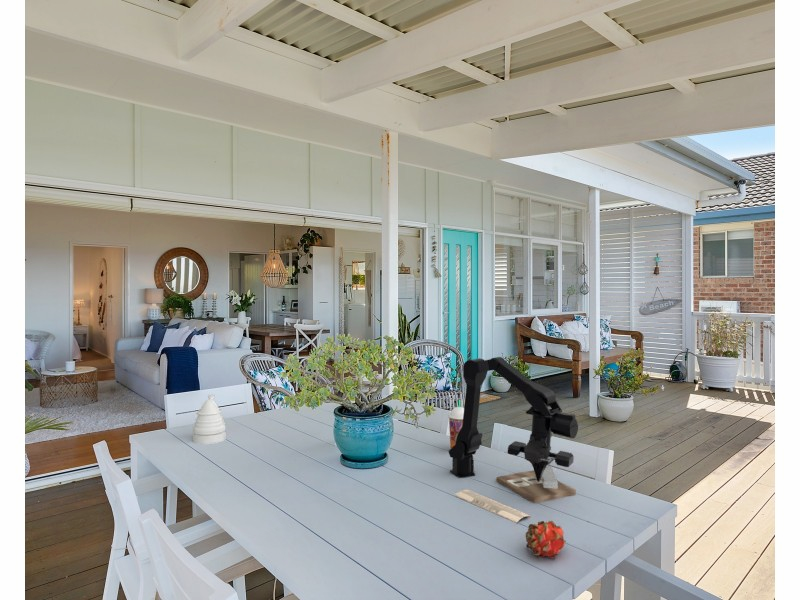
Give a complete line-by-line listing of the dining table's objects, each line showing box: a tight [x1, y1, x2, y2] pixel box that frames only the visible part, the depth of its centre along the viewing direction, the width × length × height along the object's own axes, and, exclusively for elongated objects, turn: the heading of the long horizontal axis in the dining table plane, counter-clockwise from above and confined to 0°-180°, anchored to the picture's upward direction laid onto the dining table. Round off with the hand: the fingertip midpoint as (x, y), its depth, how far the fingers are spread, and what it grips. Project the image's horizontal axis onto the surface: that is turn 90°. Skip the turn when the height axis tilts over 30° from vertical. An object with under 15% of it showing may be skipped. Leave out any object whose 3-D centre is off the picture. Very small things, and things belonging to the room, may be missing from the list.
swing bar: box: [541, 464, 558, 489], centre depth 163 cm, size 16×4×2 cm, turn 171°
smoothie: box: [448, 399, 464, 449], centre depth 202 cm, size 8×8×20 cm
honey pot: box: [192, 394, 227, 445], centre depth 216 cm, size 13×13×18 cm
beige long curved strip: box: [454, 489, 532, 524], centre depth 151 cm, size 24×7×2 cm, turn 39°
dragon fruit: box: [525, 520, 566, 560], centre depth 124 cm, size 8×8×12 cm
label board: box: [496, 469, 577, 504], centre depth 165 cm, size 16×19×4 cm
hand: (538, 481), depth 158 cm, fingers closed
